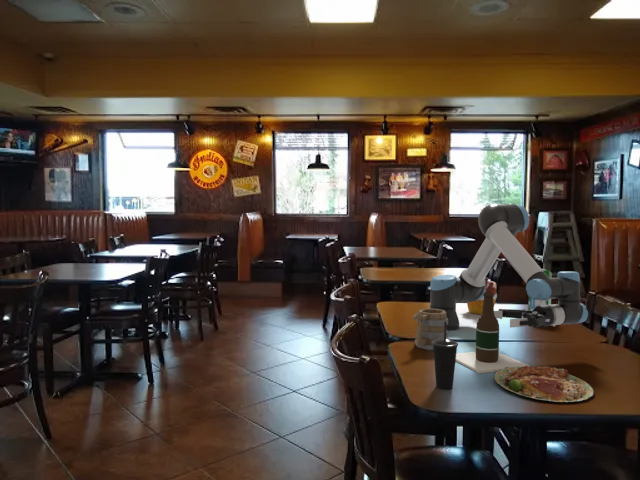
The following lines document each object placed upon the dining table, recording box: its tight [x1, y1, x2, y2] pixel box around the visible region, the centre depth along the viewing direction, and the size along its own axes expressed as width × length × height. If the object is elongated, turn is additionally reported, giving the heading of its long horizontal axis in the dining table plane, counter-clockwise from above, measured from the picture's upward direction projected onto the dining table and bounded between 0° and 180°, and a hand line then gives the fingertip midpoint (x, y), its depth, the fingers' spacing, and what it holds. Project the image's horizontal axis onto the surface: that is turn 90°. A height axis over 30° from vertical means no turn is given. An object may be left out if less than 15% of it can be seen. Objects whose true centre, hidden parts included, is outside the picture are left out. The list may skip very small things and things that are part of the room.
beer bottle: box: [475, 292, 500, 363], centre depth 178 cm, size 8×8×24 cm
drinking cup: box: [432, 322, 459, 391], centre depth 153 cm, size 8×8×20 cm
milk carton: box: [527, 268, 553, 311], centre depth 252 cm, size 9×9×25 cm
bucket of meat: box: [466, 276, 498, 316], centre depth 265 cm, size 20×16×20 cm
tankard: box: [412, 308, 449, 351], centre depth 197 cm, size 20×13×15 cm, turn 135°
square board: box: [455, 351, 531, 374], centre depth 179 cm, size 20×20×1 cm
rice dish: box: [494, 364, 595, 403], centre depth 154 cm, size 28×28×5 cm
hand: (498, 319), depth 179 cm, fingers open, 13 cm apart
